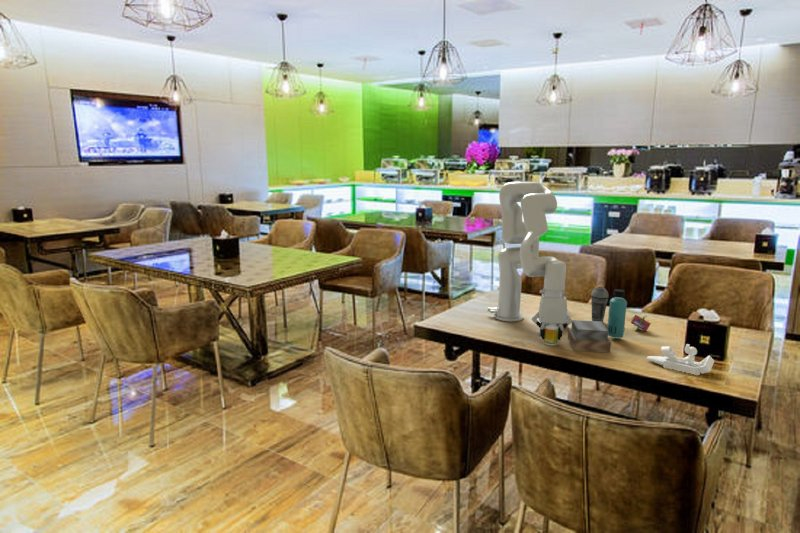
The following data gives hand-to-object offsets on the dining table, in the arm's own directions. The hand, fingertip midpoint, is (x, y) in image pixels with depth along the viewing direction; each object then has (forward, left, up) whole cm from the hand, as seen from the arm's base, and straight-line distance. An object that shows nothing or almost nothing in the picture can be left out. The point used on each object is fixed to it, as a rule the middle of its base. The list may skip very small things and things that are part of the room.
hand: (550, 338), depth 201 cm
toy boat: (+40, -17, -2) cm, 44 cm away
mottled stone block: (+14, 0, -2) cm, 14 cm away
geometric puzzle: (+39, +21, -2) cm, 44 cm away
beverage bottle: (+26, +9, -2) cm, 28 cm away
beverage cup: (+24, +30, -2) cm, 38 cm away
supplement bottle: (0, 0, -2) cm, 2 cm away
